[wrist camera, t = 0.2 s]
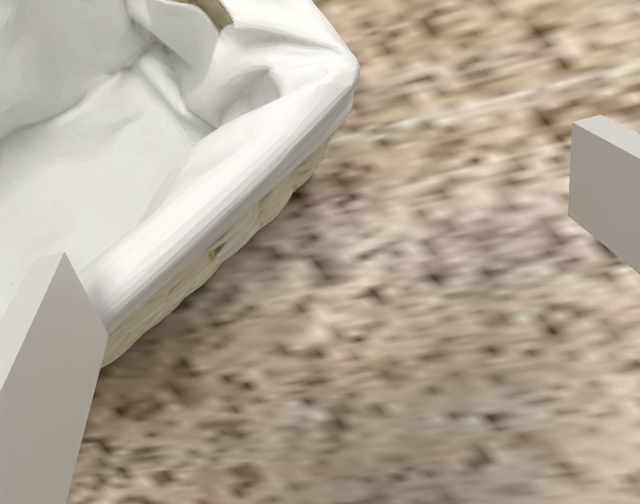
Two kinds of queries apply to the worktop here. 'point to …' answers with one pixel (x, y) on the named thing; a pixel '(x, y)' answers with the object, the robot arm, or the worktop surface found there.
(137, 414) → the worktop surface
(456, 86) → the worktop surface
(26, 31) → the storage basket
